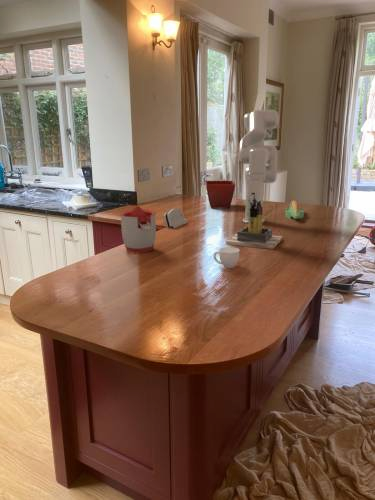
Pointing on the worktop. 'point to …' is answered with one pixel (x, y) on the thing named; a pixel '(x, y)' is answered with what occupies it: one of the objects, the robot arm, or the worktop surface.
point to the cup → (228, 256)
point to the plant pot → (220, 193)
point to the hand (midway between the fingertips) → (255, 215)
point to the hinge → (174, 218)
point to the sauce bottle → (256, 220)
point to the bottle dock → (255, 239)
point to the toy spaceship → (294, 211)
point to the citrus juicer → (138, 229)
